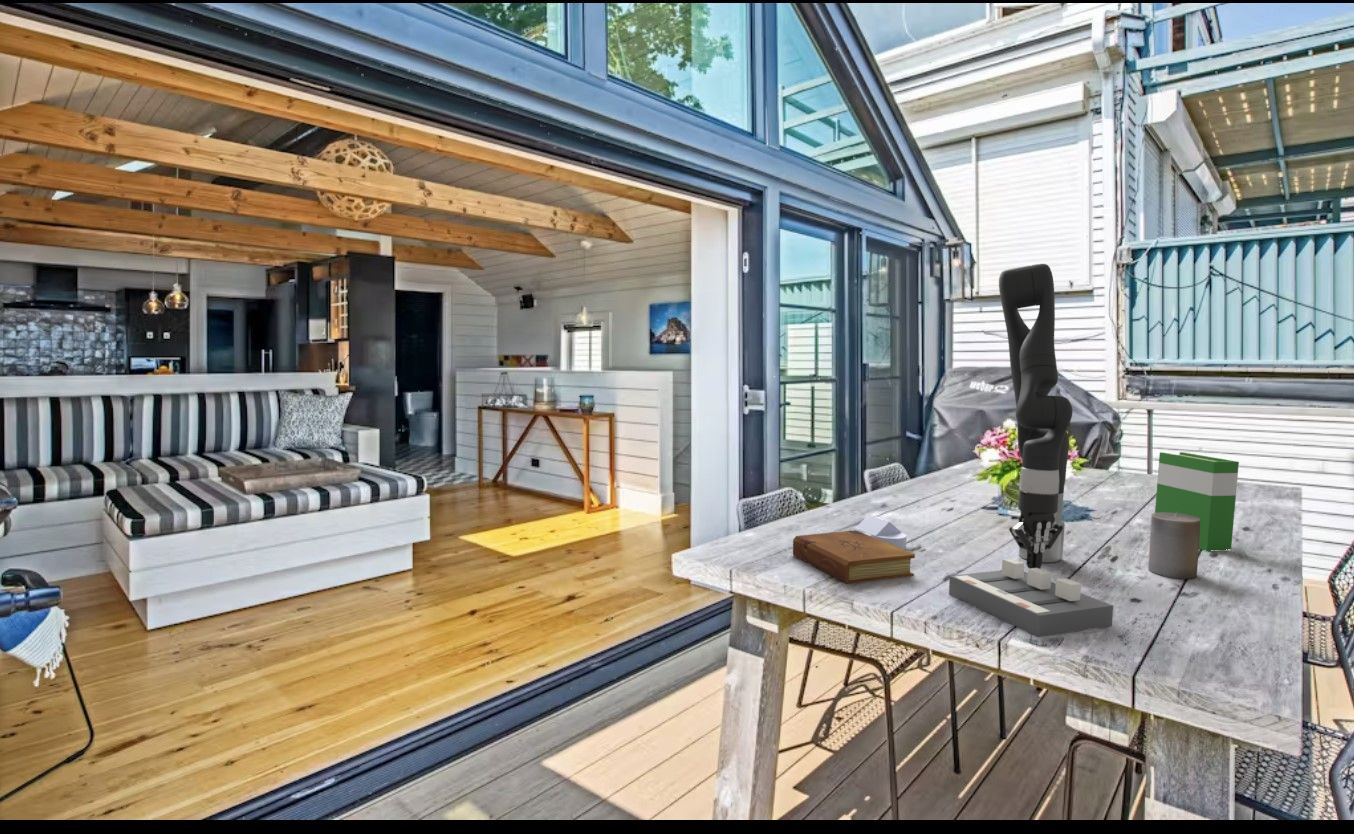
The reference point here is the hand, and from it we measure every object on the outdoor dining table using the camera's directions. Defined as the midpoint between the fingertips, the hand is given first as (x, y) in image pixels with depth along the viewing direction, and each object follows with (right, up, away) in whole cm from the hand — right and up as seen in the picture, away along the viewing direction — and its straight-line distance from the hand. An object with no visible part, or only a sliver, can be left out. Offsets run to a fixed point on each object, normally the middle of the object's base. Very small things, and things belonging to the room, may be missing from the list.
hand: (1033, 568), depth 154 cm
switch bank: (-6, -6, -9) cm, 12 cm away
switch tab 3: (-1, -2, -15) cm, 15 cm away
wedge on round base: (-21, -2, +39) cm, 44 cm away
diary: (-35, -4, +19) cm, 40 cm away
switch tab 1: (-5, -1, -2) cm, 6 cm away
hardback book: (+66, -3, +46) cm, 80 cm away
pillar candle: (+41, -5, +17) cm, 45 cm away
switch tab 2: (-3, -2, -8) cm, 9 cm away
